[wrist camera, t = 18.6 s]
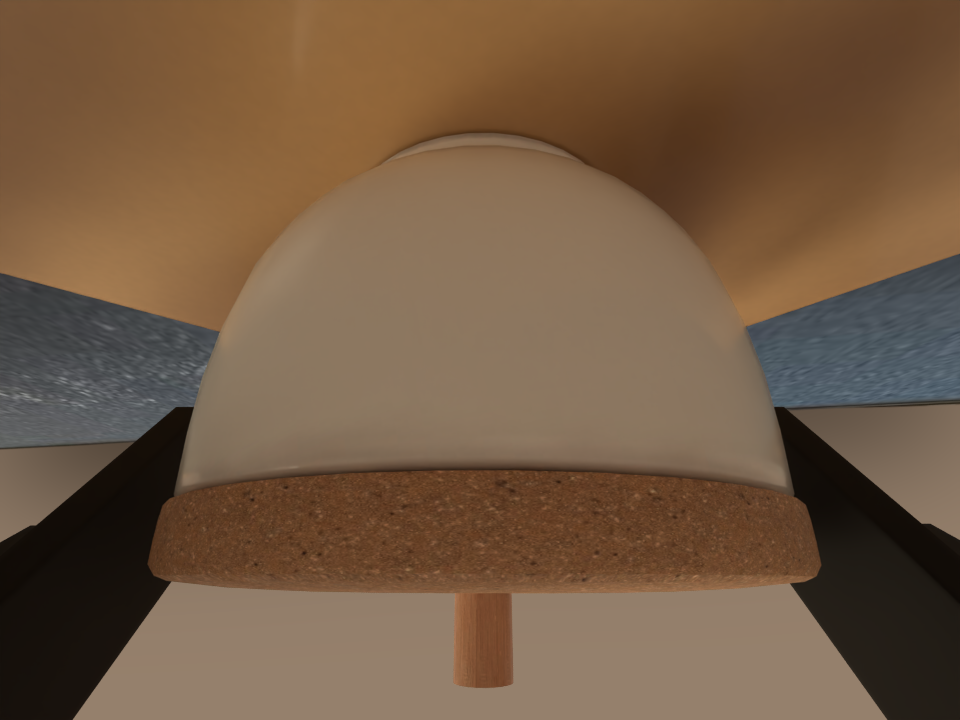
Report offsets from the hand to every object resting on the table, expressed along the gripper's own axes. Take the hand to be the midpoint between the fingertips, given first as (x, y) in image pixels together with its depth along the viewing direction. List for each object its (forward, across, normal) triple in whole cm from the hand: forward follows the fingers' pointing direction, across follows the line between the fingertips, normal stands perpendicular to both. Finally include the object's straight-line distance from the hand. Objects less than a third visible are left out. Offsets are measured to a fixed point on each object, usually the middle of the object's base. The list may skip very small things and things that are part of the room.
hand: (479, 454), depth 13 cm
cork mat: (+2, 0, -5) cm, 6 cm away
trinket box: (+2, 0, -5) cm, 6 cm away
